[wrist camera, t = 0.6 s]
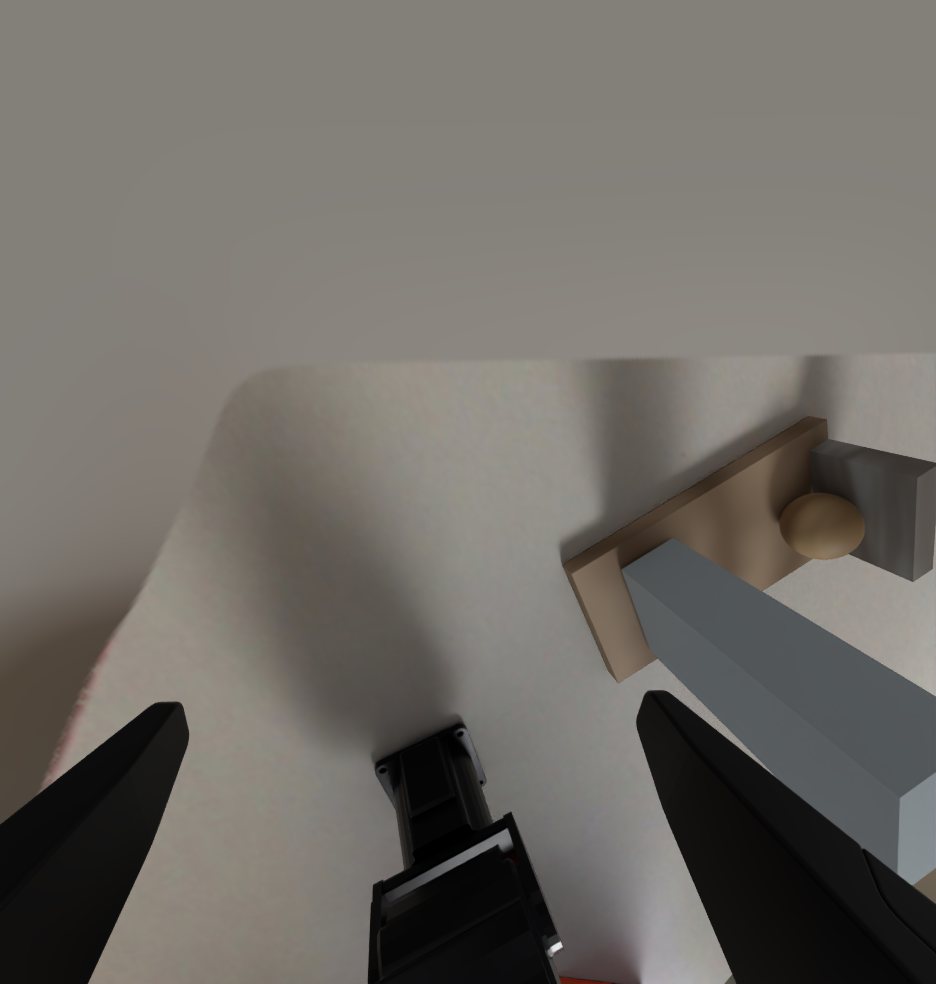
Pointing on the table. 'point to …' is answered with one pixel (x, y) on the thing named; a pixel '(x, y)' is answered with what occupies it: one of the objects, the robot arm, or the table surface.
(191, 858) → the table surface
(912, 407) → the table surface
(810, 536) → the walnut
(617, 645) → the press bed
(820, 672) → the block
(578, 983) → the file binder
